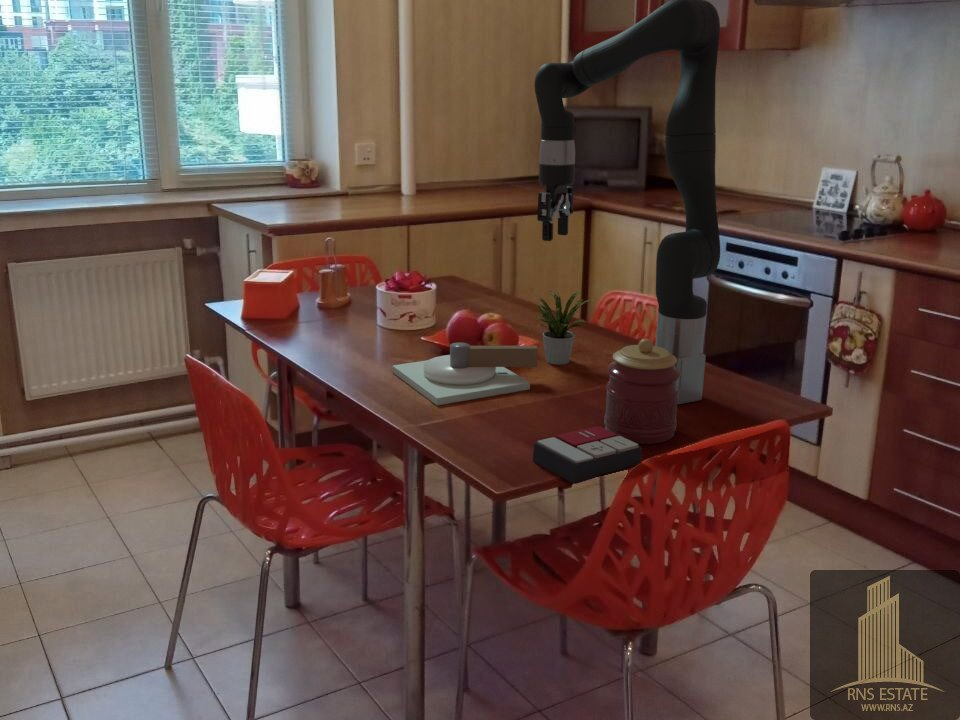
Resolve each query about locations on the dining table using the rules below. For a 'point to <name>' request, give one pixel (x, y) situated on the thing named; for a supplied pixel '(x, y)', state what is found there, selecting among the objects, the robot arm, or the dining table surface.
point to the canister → (642, 393)
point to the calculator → (586, 454)
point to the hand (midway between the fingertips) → (555, 237)
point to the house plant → (559, 330)
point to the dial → (477, 362)
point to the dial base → (456, 393)
